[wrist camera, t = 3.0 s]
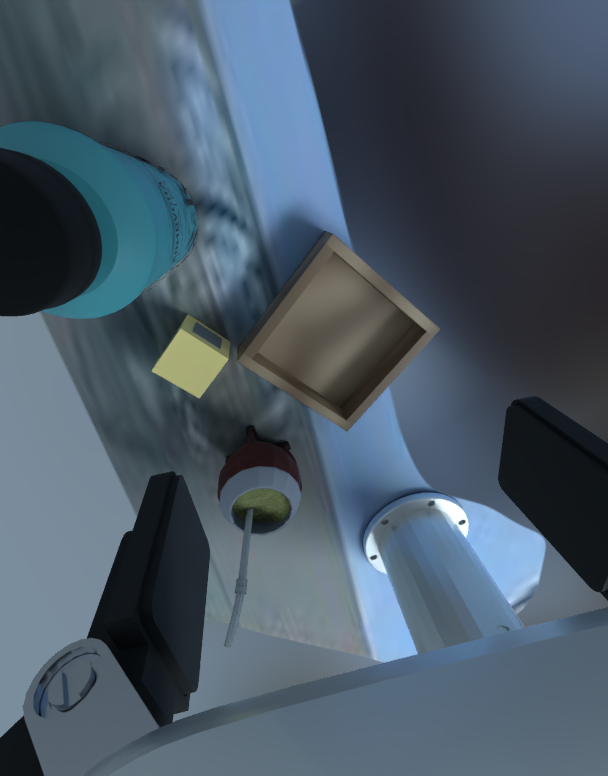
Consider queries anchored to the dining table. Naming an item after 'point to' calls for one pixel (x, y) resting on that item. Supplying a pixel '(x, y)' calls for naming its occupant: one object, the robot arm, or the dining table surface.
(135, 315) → the dining table surface
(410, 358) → the tray
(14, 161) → the beverage bottle
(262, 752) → the robot arm
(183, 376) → the pale yellow cube
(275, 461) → the mate gourd
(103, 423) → the dining table surface
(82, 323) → the dining table surface
